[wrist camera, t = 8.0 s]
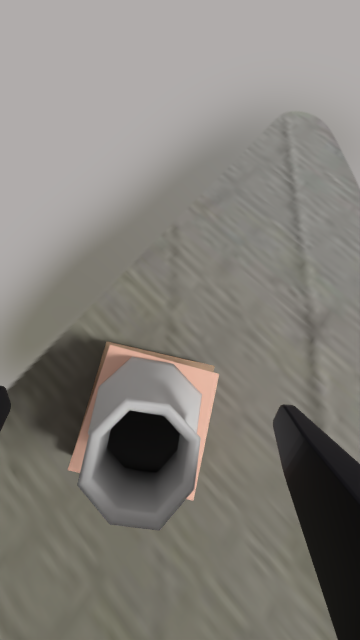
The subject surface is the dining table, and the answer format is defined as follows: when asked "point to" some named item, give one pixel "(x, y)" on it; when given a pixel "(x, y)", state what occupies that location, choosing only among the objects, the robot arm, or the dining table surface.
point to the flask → (142, 444)
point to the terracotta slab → (119, 356)
